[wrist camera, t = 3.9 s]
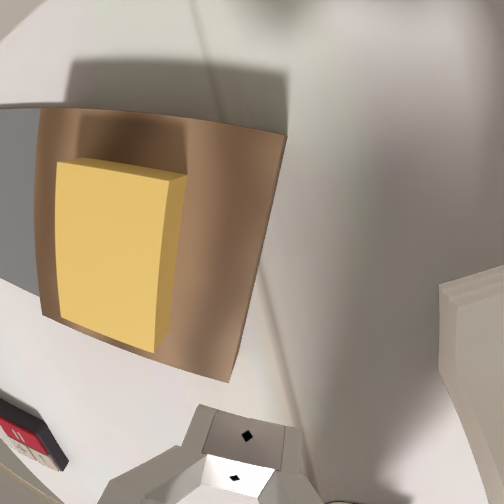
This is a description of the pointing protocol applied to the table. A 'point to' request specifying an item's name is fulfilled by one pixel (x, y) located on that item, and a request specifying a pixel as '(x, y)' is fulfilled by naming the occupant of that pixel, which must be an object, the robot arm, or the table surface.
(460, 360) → the block
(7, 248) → the mat
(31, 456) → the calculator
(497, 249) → the table surface
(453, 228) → the table surface
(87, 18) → the table surface
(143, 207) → the yellow rectangular block
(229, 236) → the panel
